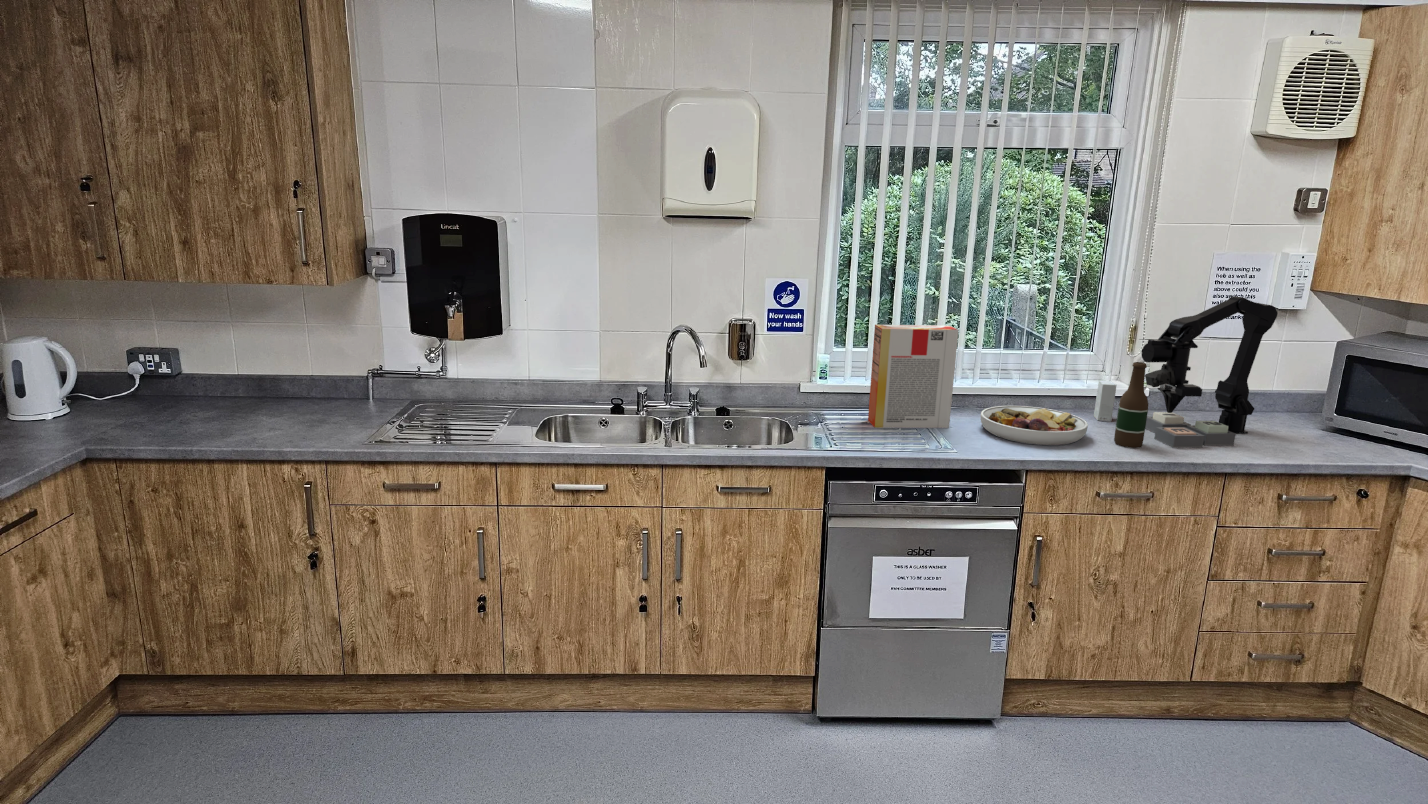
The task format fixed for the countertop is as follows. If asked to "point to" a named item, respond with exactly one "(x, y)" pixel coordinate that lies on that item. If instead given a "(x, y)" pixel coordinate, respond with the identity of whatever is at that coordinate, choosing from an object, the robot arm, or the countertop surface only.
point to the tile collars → (1188, 440)
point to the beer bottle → (1132, 411)
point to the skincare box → (1105, 400)
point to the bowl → (1033, 425)
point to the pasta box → (912, 376)
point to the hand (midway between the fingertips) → (1169, 412)
